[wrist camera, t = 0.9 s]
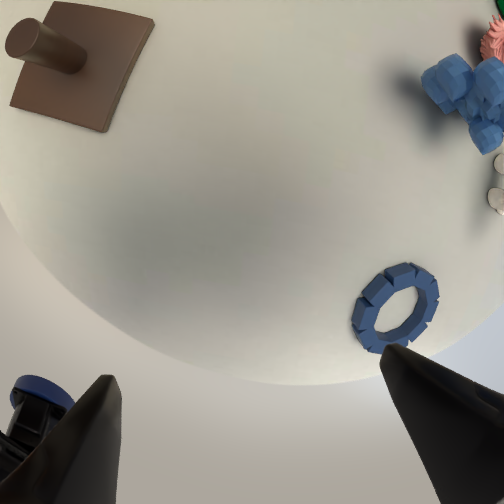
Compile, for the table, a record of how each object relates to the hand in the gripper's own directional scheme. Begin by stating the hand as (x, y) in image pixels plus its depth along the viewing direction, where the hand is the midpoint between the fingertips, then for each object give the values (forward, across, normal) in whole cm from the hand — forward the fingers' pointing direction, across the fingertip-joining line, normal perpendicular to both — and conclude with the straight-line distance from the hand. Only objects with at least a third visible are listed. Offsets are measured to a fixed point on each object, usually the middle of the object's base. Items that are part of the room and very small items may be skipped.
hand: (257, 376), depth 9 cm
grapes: (+14, -18, -10) cm, 25 cm away
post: (+14, +10, -12) cm, 21 cm away
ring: (+14, -16, +9) cm, 23 cm away
